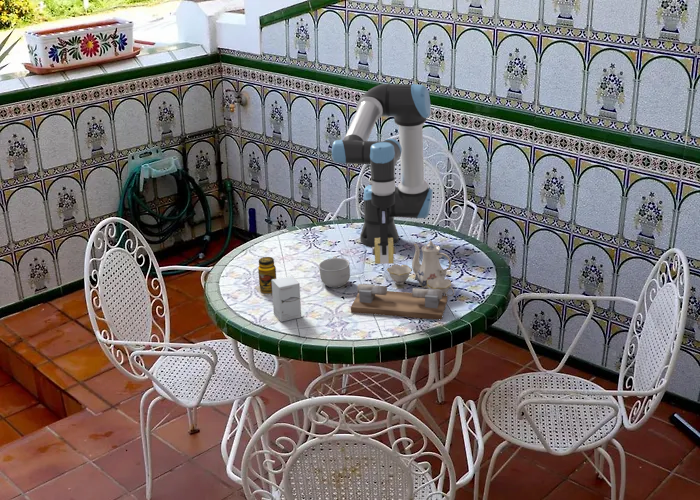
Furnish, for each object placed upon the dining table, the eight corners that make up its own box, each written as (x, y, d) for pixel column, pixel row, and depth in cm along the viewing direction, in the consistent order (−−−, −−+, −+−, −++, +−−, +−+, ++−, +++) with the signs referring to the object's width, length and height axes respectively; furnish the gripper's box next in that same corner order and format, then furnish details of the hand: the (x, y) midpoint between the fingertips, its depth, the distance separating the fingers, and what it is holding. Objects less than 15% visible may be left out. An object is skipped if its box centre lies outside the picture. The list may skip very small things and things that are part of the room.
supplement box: (280, 322, 273) (278, 287, 268) (273, 313, 279) (270, 278, 274) (302, 318, 275) (299, 283, 271) (294, 308, 282) (292, 274, 277)
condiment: (262, 296, 291) (259, 264, 287) (254, 287, 299) (251, 256, 294) (282, 291, 294) (280, 260, 290) (273, 282, 301) (271, 252, 297)
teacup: (346, 291, 293) (346, 270, 290) (316, 289, 295) (315, 268, 292) (354, 274, 305) (354, 254, 302) (325, 273, 307) (324, 253, 304)
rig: (360, 294, 290) (360, 275, 288) (447, 301, 283) (447, 282, 281) (350, 312, 278) (350, 293, 275) (441, 320, 271) (441, 300, 268)
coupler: (372, 257, 278) (372, 238, 275) (395, 257, 277) (395, 237, 275) (372, 263, 273) (372, 243, 270) (396, 263, 273) (395, 243, 270)
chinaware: (379, 288, 298) (375, 247, 290) (406, 268, 309) (403, 227, 301) (447, 308, 282) (445, 265, 274) (472, 286, 293) (471, 244, 285)
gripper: (371, 183, 274) (372, 249, 283) (371, 201, 258) (372, 271, 267) (394, 182, 274) (395, 248, 283) (395, 201, 258) (396, 270, 267)
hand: (384, 259), depth 275 cm, fingers closed on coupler, 5 cm apart
